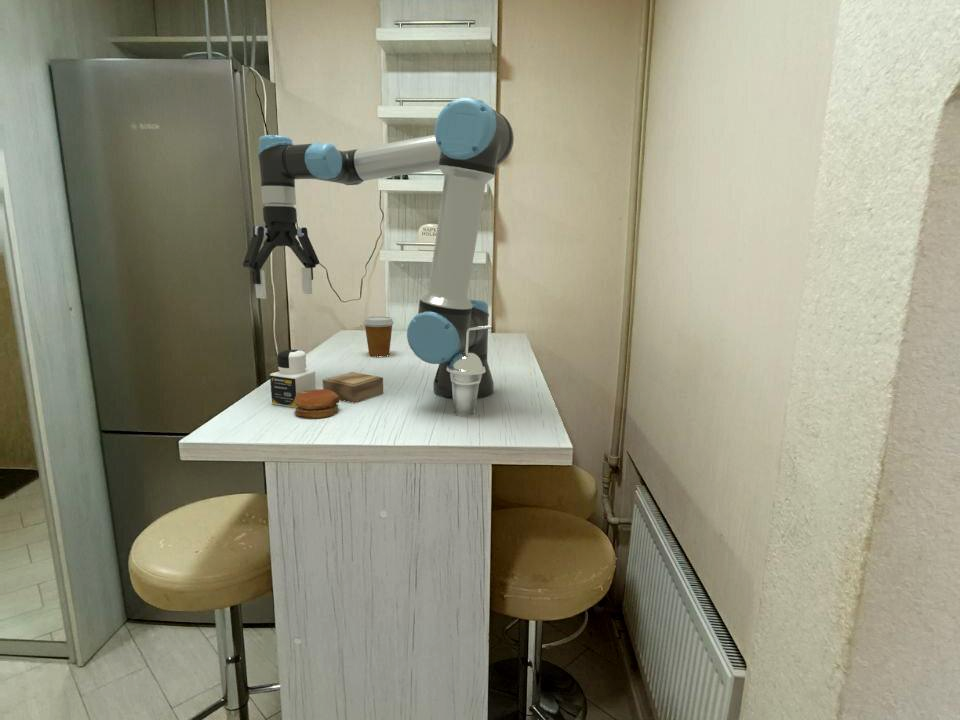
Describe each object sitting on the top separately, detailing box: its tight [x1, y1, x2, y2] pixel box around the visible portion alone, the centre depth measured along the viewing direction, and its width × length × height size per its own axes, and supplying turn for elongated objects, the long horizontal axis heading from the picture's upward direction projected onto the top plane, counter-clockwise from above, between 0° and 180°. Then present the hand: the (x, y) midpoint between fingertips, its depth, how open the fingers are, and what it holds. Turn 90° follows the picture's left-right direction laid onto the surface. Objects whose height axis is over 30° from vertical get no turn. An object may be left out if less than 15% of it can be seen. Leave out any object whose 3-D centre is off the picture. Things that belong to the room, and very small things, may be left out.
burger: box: [294, 388, 341, 419], centre depth 121 cm, size 10×9×5 cm
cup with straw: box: [446, 324, 493, 417], centre depth 120 cm, size 8×9×20 cm
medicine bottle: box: [269, 349, 317, 409], centre depth 127 cm, size 7×7×12 cm
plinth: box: [322, 371, 384, 404], centre depth 134 cm, size 10×10×4 cm
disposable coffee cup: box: [362, 315, 395, 358], centre depth 178 cm, size 10×10×12 cm
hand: (285, 295), depth 136 cm, fingers open, 13 cm apart
